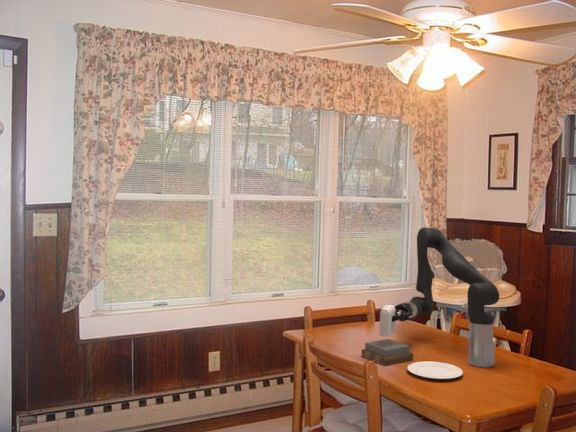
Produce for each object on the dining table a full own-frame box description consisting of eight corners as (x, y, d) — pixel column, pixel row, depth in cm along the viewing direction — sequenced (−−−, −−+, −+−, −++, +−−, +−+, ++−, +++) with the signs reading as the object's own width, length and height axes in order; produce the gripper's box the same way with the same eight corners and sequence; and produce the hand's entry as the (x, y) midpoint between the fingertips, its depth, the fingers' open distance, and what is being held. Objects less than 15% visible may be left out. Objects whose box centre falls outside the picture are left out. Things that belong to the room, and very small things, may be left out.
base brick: (412, 360, 231) (413, 353, 231) (385, 366, 223) (385, 358, 223) (388, 351, 244) (388, 344, 244) (361, 356, 236) (361, 349, 236)
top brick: (409, 353, 231) (409, 345, 231) (385, 357, 224) (385, 350, 224) (388, 345, 242) (388, 338, 242) (365, 349, 235) (365, 342, 235)
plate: (468, 371, 218) (468, 366, 218) (455, 387, 200) (455, 381, 200) (416, 362, 229) (416, 358, 229) (399, 377, 211) (399, 372, 211)
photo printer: (386, 330, 239) (387, 302, 238) (395, 332, 237) (396, 303, 236) (378, 336, 230) (378, 306, 229) (388, 338, 228) (389, 308, 227)
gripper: (391, 300, 250) (371, 307, 237) (420, 305, 241) (402, 311, 228) (390, 317, 250) (371, 324, 237) (420, 322, 241) (402, 329, 228)
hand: (386, 318), depth 232 cm, fingers closed on photo printer, 5 cm apart
